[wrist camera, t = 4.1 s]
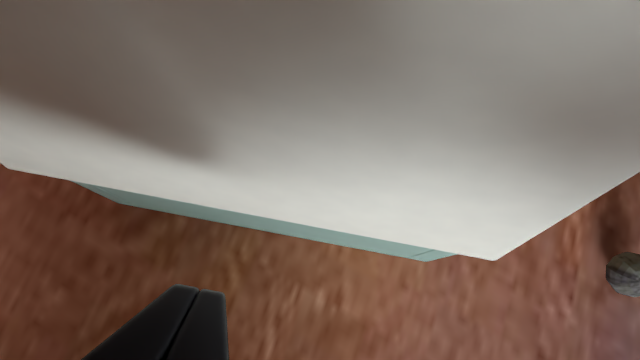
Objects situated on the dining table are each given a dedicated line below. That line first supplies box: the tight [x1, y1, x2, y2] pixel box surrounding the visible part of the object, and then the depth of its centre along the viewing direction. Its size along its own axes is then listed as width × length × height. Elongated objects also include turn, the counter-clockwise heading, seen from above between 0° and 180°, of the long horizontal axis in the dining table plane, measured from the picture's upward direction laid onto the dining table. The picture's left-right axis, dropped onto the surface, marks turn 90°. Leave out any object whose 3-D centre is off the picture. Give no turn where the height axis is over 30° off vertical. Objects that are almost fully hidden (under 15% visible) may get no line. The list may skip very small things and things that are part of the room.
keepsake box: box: [72, 181, 456, 262], centre depth 18 cm, size 13×12×7 cm
